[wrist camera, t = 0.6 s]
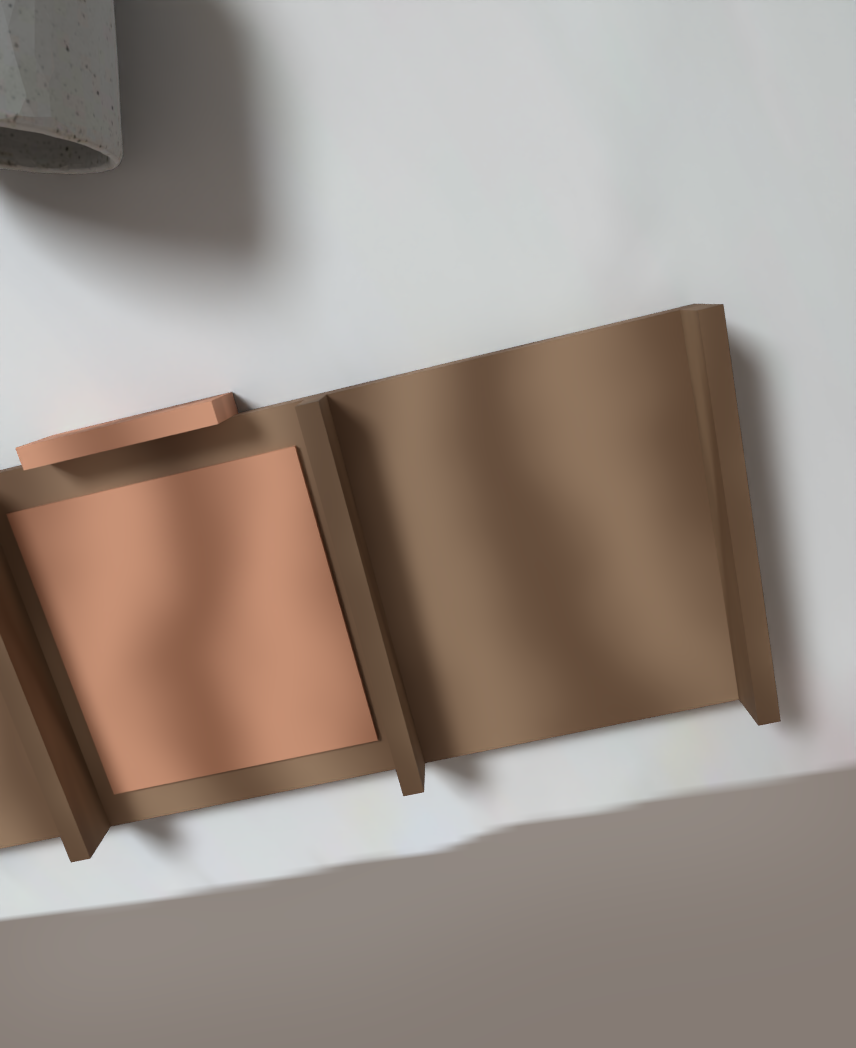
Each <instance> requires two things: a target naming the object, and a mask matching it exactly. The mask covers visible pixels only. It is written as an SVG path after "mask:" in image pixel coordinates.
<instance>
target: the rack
mask: <svg viewBox="0 0 856 1048" xmlns="http://www.w3.org/2000/svg"><path fill="white" fill-rule="evenodd" d="M16 451H17V454H18V456H19V459H20V462H21V464H22V465H20V466H16V467H11V468H7V469H3V470H0V849H1V848H6V847H11V846H16V845H21V844H26V843H31V842H36V841H41V840H46V839H51V838H56V837H61V839H62V842H63V844H64V847H65V849H66V852H67V854H68V856H69V859H70V861H71V862H75V861H81V860H86V859H90V858H91V857H92V855H93V854H94V852H95V850H96V849H97V847H98V846H99V844H100V842H101V841H102V839H103V838H104V836H105V835H106V833H107V831H108V830H109V828H110V827H111V826H115V825H120V824H125V823H130V822H135V821H140V820H145V819H150V818H155V817H160V816H165V815H170V814H175V813H180V812H184V811H189V810H194V809H199V808H204V807H209V806H214V805H219V804H224V803H229V802H234V801H239V800H244V799H249V798H254V797H259V796H264V795H269V794H274V793H279V792H284V791H289V790H294V789H299V788H303V787H308V786H313V785H318V784H323V783H328V782H333V781H338V780H343V779H348V778H353V777H358V776H363V775H368V774H373V773H378V772H383V771H388V770H393V769H396V772H397V775H398V779H399V782H400V786H401V790H402V793H403V796H407V795H412V794H417V793H422V792H424V779H425V763H427V762H432V761H437V760H442V759H447V758H452V757H457V756H462V755H467V754H472V753H477V752H482V751H487V750H492V749H497V748H502V747H507V746H512V745H517V744H522V743H527V742H532V741H536V740H541V739H546V738H551V737H556V736H561V735H566V734H571V733H576V732H581V731H586V730H591V729H596V728H601V727H606V726H611V725H616V724H621V723H626V722H631V721H636V720H641V719H646V718H651V717H655V716H660V715H665V714H670V713H675V712H680V711H685V710H690V709H695V708H700V707H705V706H710V705H715V704H720V703H725V702H730V701H735V700H740V702H741V703H742V704H743V706H744V707H745V708H746V710H747V711H748V712H749V714H750V715H751V716H752V718H753V719H754V720H755V722H756V723H757V724H758V726H759V725H764V724H769V723H774V722H779V721H781V720H780V713H779V706H778V698H777V691H776V684H775V677H774V669H773V662H772V655H771V647H770V640H769V633H768V626H767V618H766V611H765V604H764V597H763V589H762V582H761V575H760V568H759V560H758V553H757V546H756V538H755V531H754V524H753V517H752V509H751V502H750V495H749V488H748V480H747V473H746V466H745V459H744V451H743V444H742V437H741V429H740V422H739V415H738V408H737V400H736V393H735V386H734V379H733V371H732V364H731V357H730V349H729V342H728V335H727V328H726V320H725V313H724V306H723V304H692V305H687V306H683V307H679V308H675V309H671V310H667V311H662V312H658V313H654V314H650V315H646V316H642V317H637V318H633V319H629V320H625V321H621V322H617V323H612V324H608V325H604V326H600V327H596V328H591V329H587V330H583V331H579V332H575V333H571V334H566V335H562V336H558V337H554V338H550V339H546V340H541V341H537V342H533V343H529V344H525V345H521V346H516V347H512V348H508V349H504V350H500V351H495V352H491V353H487V354H483V355H479V356H475V357H470V358H466V359H462V360H458V361H454V362H450V363H445V364H441V365H437V366H433V367H429V368H425V369H420V370H416V371H412V372H408V373H404V374H400V375H395V376H391V377H387V378H383V379H379V380H374V381H370V382H366V383H362V384H358V385H354V386H349V387H345V388H341V389H337V390H333V391H329V392H324V393H320V394H316V395H312V396H308V397H304V398H299V399H295V400H291V401H287V402H283V403H279V404H274V405H270V406H266V407H262V408H258V409H253V410H249V411H245V412H241V413H238V410H237V407H236V403H235V400H234V397H233V393H232V392H230V393H225V394H221V395H217V396H213V397H209V398H205V399H201V400H197V401H192V402H188V403H184V404H180V405H176V406H172V407H168V408H163V409H159V410H155V411H151V412H147V413H143V414H139V415H134V416H130V417H126V418H122V419H118V420H114V421H110V422H106V423H101V424H97V425H93V426H89V427H85V428H81V429H77V430H72V431H68V432H64V433H60V434H56V435H52V436H49V437H46V438H43V439H41V440H38V441H35V442H32V443H29V444H26V445H23V446H20V447H17V448H16Z"/></svg>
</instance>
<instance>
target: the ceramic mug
mask: <svg viewBox="0 0 856 1048" xmlns="http://www.w3.org/2000/svg"><path fill="white" fill-rule="evenodd" d="M122 157H123V146H122V130H121V111H120V91H119V72H118V56H117V42H116V27H115V13H114V0H0V169H11V170H21V171H27V172H35V173H61V174H76V173H78V174H87V173H96V172H104V171H107V170H112V169H114V168H116V167H117V166H118V165H119V164H120V162H121V160H122Z"/></svg>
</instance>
